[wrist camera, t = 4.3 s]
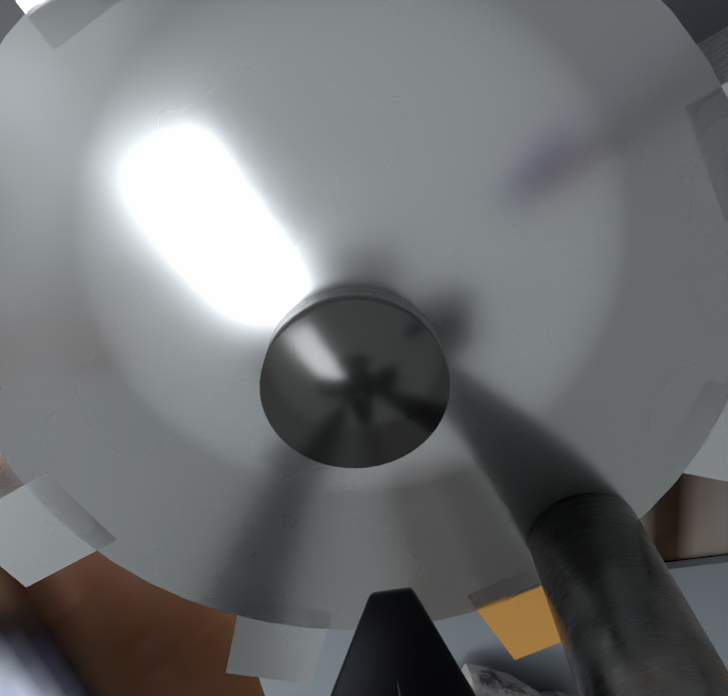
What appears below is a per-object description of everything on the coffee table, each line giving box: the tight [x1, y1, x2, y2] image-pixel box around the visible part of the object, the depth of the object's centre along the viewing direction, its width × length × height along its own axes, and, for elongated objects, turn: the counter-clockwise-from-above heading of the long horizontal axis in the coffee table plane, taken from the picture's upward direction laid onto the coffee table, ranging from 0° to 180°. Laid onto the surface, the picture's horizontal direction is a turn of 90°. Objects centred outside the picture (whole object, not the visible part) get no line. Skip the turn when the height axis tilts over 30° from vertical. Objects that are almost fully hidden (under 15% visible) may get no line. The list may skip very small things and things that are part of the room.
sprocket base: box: [0, 0, 728, 468], centre depth 10 cm, size 15×15×4 cm
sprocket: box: [0, 0, 728, 696], centre depth 7 cm, size 14×14×7 cm
